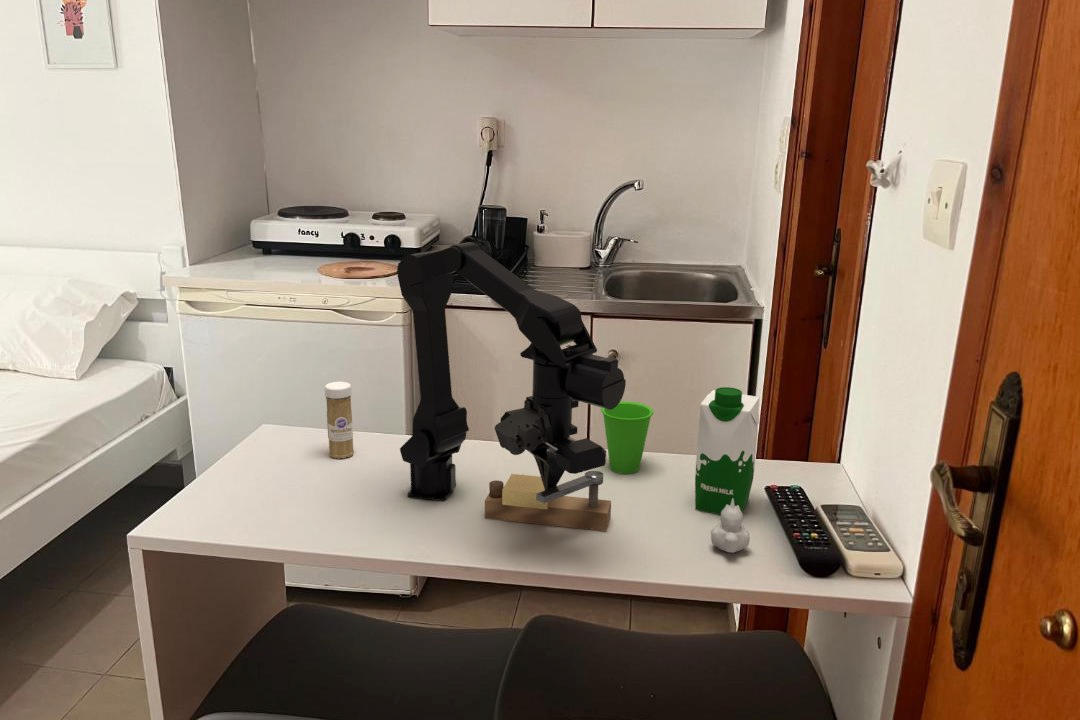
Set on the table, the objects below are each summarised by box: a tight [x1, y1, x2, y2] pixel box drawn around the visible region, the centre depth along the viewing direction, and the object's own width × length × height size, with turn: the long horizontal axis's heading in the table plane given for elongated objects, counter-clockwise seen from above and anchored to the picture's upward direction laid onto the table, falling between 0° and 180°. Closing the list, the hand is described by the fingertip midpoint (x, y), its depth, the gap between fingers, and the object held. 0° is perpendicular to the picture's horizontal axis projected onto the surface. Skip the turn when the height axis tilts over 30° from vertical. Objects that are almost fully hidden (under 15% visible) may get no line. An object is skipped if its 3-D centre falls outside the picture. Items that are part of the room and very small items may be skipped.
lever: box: [536, 470, 604, 503], centre depth 125 cm, size 12×3×1 cm, turn 132°
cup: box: [600, 400, 654, 475], centre depth 149 cm, size 9×9×11 cm
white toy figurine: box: [710, 499, 751, 553], centre depth 121 cm, size 5×7×8 cm
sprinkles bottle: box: [324, 381, 355, 459], centre depth 153 cm, size 5×5×14 cm
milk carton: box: [694, 386, 760, 516], centre depth 134 cm, size 9×9×20 cm
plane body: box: [484, 480, 612, 532], centre depth 131 cm, size 19×4×7 cm, turn 78°
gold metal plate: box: [502, 473, 551, 509], centre depth 131 cm, size 7×6×2 cm
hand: (549, 491), depth 125 cm, fingers closed
